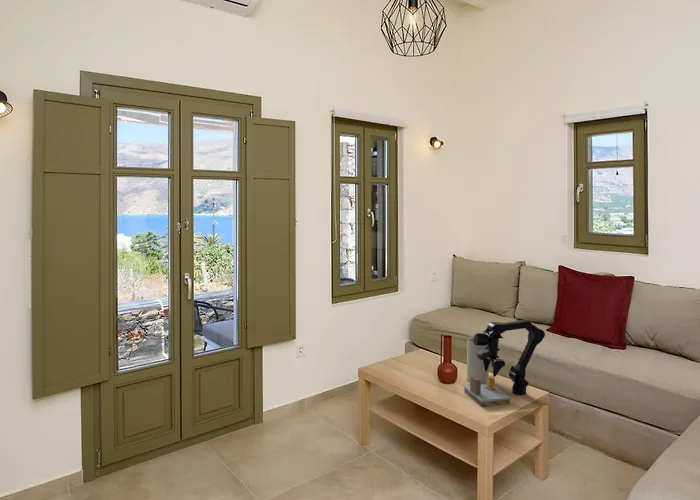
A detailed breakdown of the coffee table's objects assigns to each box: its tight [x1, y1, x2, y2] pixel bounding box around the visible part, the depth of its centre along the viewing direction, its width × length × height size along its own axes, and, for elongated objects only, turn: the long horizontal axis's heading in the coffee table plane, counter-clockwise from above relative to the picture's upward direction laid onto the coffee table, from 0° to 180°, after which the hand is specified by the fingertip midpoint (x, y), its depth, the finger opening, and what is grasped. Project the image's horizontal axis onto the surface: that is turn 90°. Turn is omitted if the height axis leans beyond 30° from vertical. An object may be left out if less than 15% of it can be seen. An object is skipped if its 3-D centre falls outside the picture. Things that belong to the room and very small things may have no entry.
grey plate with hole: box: [463, 376, 511, 402], centre depth 256 cm, size 16×20×9 cm
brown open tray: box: [463, 387, 511, 408], centre depth 257 cm, size 16×20×4 cm
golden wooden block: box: [485, 375, 496, 391], centre depth 260 cm, size 3×3×10 cm
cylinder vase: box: [466, 337, 490, 384], centre depth 283 cm, size 12×12×25 cm
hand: (490, 373), depth 259 cm, fingers open, 9 cm apart
